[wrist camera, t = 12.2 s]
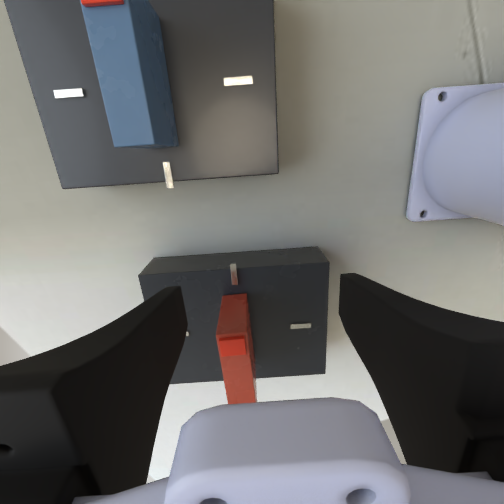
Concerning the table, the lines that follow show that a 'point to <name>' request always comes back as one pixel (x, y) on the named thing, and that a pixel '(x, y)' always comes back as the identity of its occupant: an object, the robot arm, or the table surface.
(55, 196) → the table surface
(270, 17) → the panel
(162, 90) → the cold tap
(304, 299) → the hot tap panel
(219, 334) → the block
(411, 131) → the table surface
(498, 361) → the robot arm
